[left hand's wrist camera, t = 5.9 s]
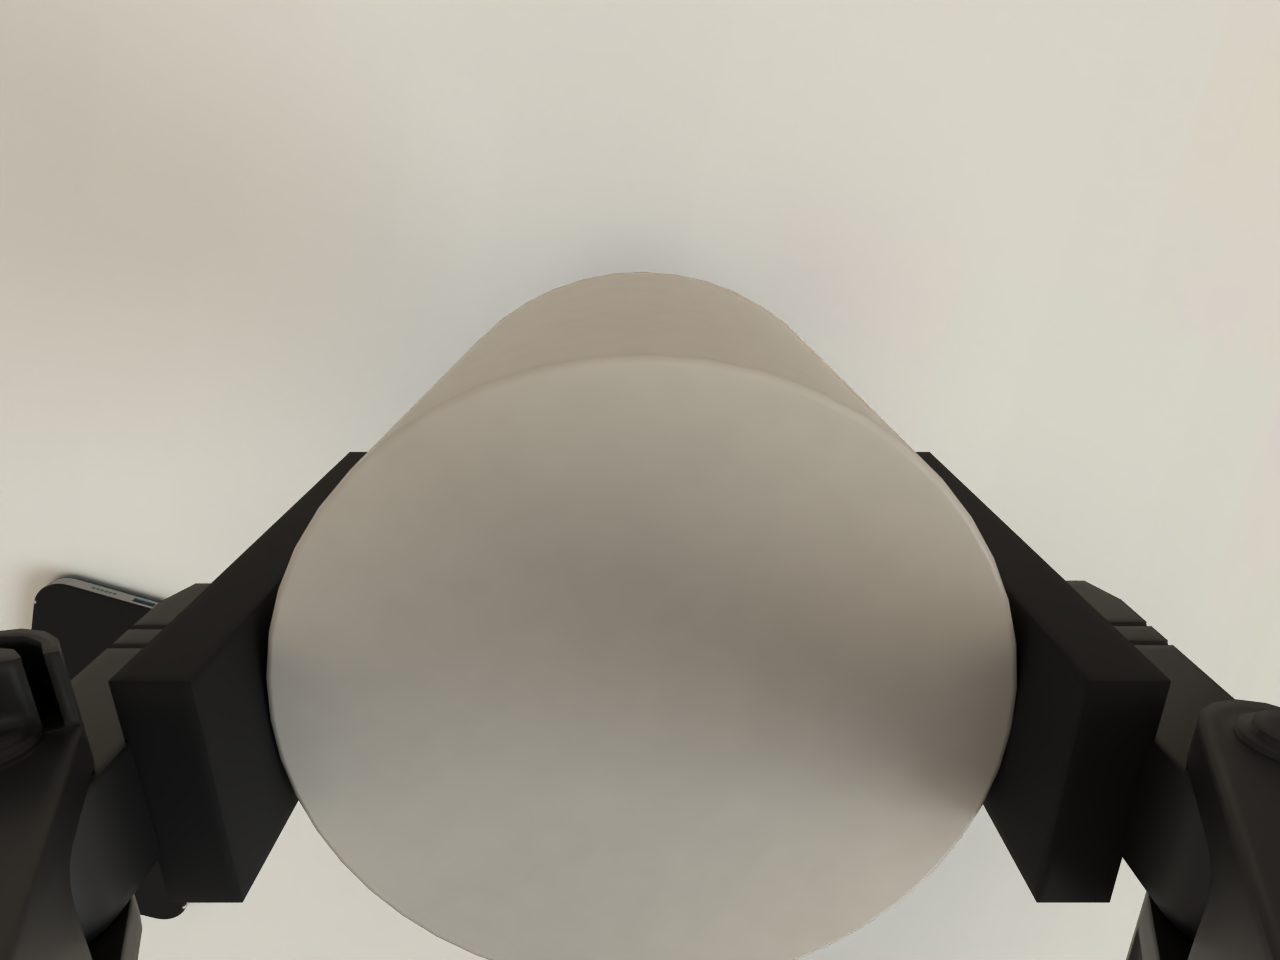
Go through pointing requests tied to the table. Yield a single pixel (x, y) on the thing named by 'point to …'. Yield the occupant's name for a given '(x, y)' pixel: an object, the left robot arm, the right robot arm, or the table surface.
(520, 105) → the table surface
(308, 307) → the table surface
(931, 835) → the canister
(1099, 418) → the table surface
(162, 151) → the table surface
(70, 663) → the smartphone
